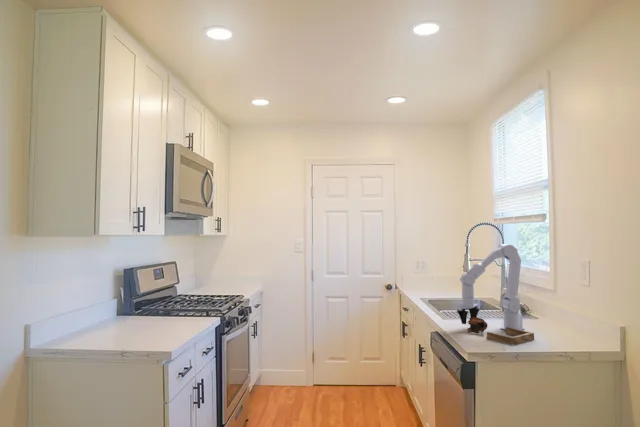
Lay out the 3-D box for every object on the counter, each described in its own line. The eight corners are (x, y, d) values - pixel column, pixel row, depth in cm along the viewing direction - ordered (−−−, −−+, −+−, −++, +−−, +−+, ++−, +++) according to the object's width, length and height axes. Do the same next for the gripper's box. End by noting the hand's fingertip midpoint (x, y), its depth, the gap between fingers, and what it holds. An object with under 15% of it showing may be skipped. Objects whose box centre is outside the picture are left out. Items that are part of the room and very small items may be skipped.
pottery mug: (461, 332, 210) (464, 316, 213) (475, 338, 213) (477, 323, 216) (480, 331, 200) (482, 314, 203) (494, 337, 203) (495, 321, 206)
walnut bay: (507, 333, 205) (507, 327, 205) (534, 339, 194) (534, 332, 194) (486, 338, 195) (486, 332, 196) (513, 345, 184) (513, 338, 184)
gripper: (470, 294, 222) (470, 319, 221) (452, 297, 214) (453, 323, 213) (481, 296, 216) (482, 322, 215) (464, 298, 208) (464, 325, 208)
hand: (468, 322), depth 214 cm, fingers open, 7 cm apart
